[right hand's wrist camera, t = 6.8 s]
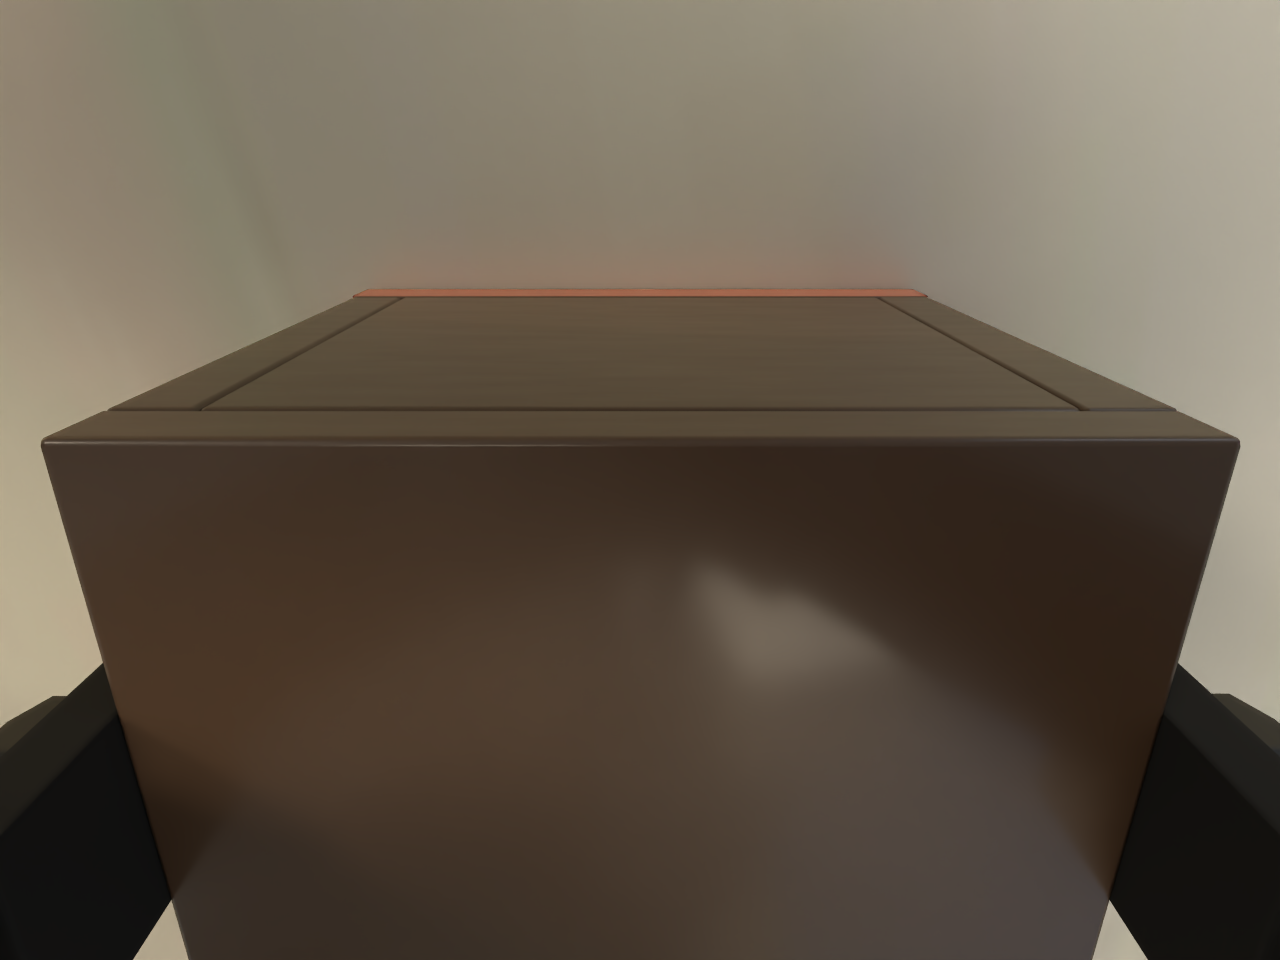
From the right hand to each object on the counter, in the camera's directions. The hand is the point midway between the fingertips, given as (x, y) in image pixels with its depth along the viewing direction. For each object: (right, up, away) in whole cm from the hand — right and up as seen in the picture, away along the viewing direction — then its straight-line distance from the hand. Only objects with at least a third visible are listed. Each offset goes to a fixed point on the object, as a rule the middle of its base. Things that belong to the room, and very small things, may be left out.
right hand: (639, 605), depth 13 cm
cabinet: (0, -3, +6) cm, 7 cm away
